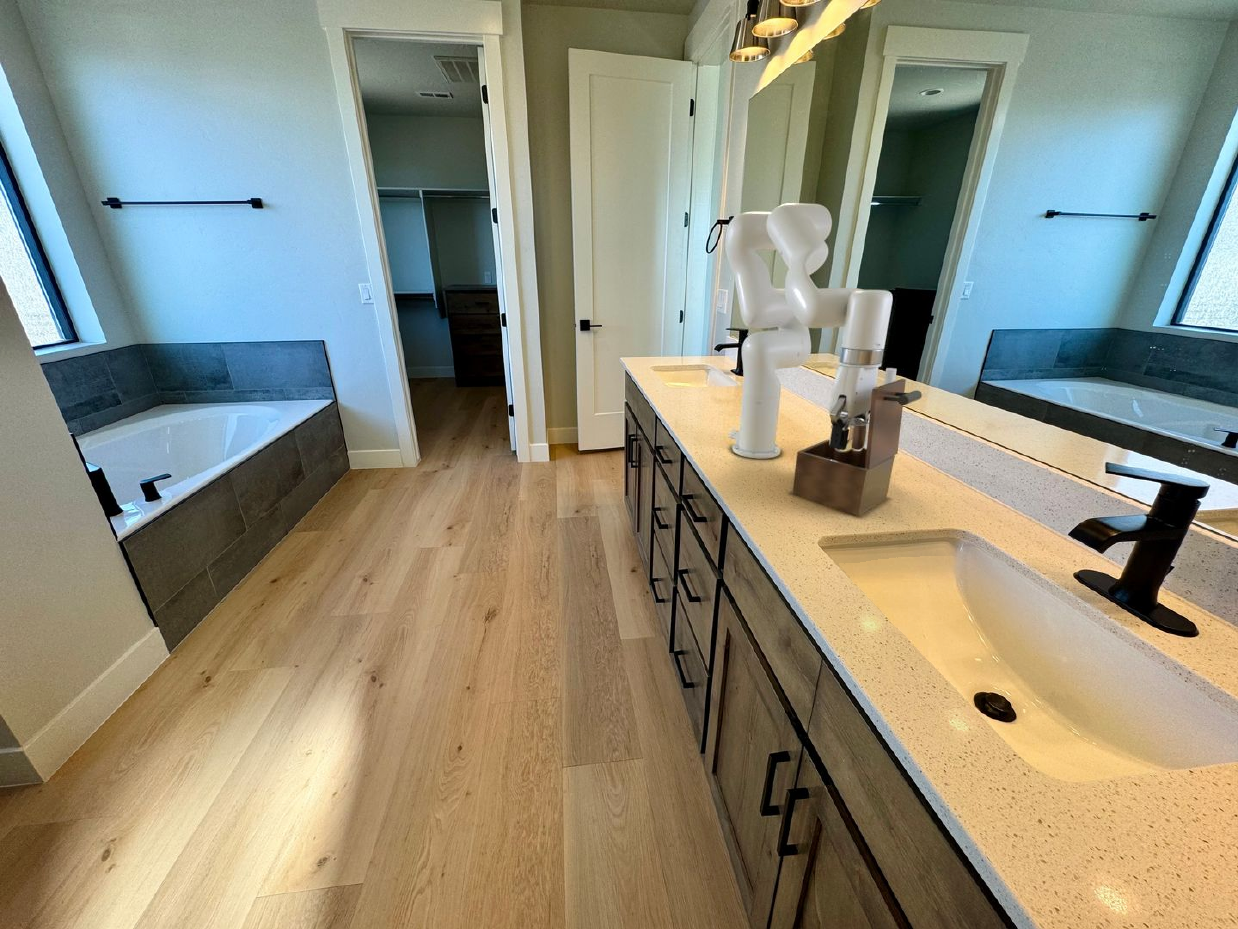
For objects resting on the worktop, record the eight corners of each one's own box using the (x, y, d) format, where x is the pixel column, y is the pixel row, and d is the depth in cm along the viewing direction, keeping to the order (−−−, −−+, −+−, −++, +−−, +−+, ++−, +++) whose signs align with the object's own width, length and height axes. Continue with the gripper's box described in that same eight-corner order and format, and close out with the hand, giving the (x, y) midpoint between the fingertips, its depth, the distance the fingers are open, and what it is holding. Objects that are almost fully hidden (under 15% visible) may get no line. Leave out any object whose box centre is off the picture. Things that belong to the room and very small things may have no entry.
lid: (872, 388, 89) (902, 390, 85) (901, 378, 96) (930, 380, 93) (864, 468, 94) (893, 473, 90) (893, 453, 101) (920, 457, 97)
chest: (792, 493, 107) (797, 451, 104) (822, 478, 115) (827, 439, 111) (858, 516, 97) (866, 470, 93) (886, 498, 104) (895, 455, 101)
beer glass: (837, 497, 101) (848, 427, 96) (815, 484, 108) (825, 418, 102) (865, 492, 103) (877, 424, 98) (843, 480, 109) (853, 415, 104)
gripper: (862, 350, 103) (849, 431, 110) (819, 360, 93) (807, 449, 99) (900, 354, 98) (884, 439, 104) (858, 365, 87) (843, 458, 94)
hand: (847, 443), depth 102 cm, fingers closed on beer glass, 7 cm apart
